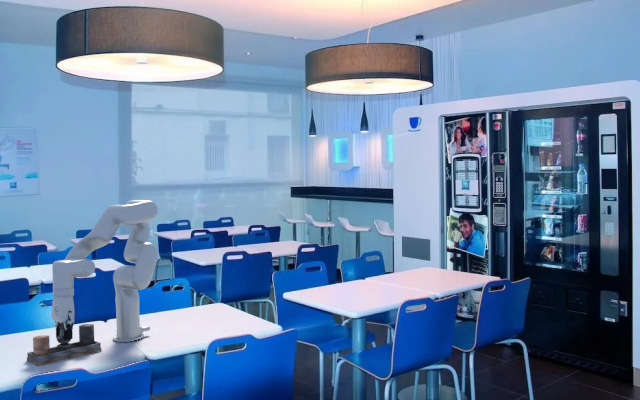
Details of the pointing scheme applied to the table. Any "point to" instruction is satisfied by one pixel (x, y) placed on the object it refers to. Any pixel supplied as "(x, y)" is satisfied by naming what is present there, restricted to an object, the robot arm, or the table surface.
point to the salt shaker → (62, 337)
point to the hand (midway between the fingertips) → (64, 337)
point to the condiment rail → (49, 355)
